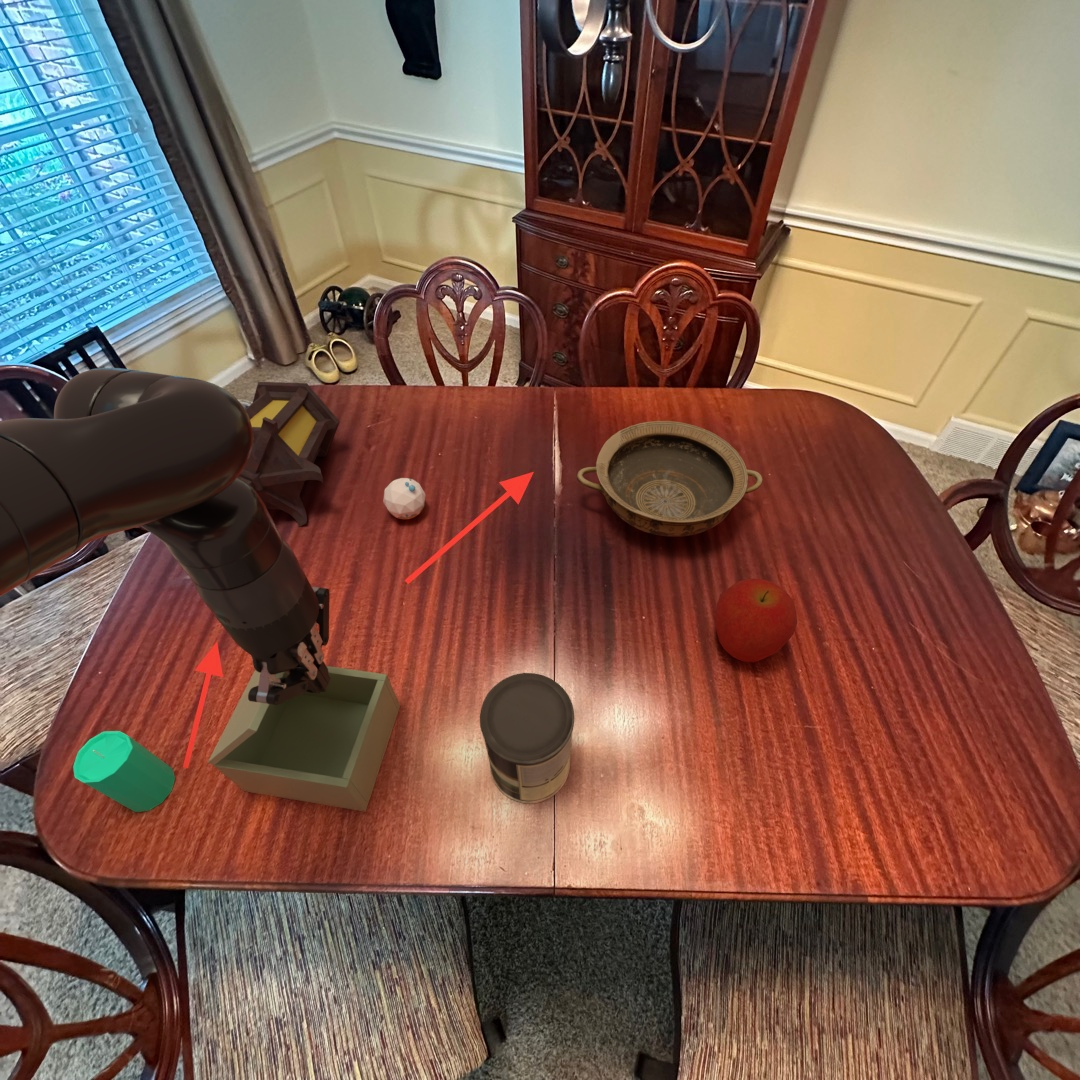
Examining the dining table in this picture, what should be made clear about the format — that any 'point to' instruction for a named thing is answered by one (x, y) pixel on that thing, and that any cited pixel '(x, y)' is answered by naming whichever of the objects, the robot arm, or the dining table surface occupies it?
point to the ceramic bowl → (670, 477)
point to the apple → (754, 619)
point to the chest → (320, 743)
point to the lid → (241, 722)
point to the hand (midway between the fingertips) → (319, 684)
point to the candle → (124, 771)
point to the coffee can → (528, 736)
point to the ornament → (404, 498)
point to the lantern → (287, 443)
